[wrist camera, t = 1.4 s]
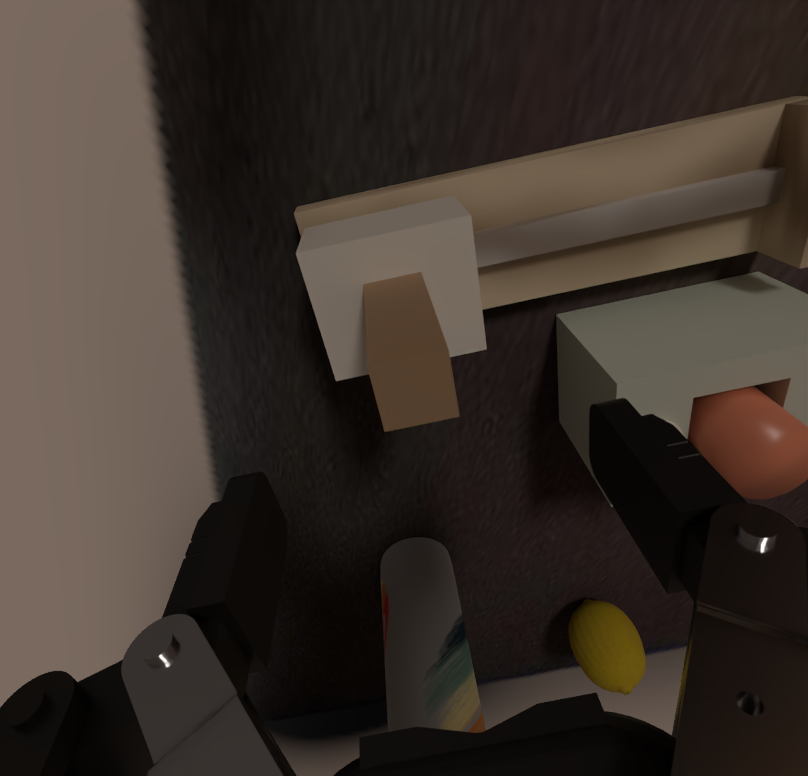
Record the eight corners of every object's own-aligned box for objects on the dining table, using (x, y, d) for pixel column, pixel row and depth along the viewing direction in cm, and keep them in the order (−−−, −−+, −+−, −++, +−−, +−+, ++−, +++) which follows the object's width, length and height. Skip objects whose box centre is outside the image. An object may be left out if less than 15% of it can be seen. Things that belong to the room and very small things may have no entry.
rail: (297, 206, 25) (286, 228, 21) (793, 96, 24) (876, 98, 20) (333, 330, 28) (330, 368, 25) (765, 237, 28) (830, 262, 24)
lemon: (621, 606, 45) (668, 698, 39) (564, 625, 46) (600, 718, 39) (609, 572, 43) (658, 665, 36) (549, 593, 43) (585, 687, 37)
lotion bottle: (387, 588, 41) (410, 940, 24) (372, 543, 38) (386, 910, 21) (454, 574, 41) (524, 920, 24) (444, 528, 38) (516, 886, 21)
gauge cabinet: (556, 314, 29) (621, 388, 22) (758, 271, 29) (890, 332, 22) (559, 421, 33) (614, 512, 26) (735, 384, 33) (840, 467, 26)
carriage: (304, 228, 23) (269, 328, 13) (453, 195, 22) (523, 273, 13) (338, 342, 26) (329, 487, 16) (469, 314, 26) (534, 445, 16)
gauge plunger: (665, 370, 26) (741, 440, 21) (741, 354, 26) (836, 421, 21) (658, 430, 28) (726, 506, 23) (728, 415, 28) (812, 489, 23)
